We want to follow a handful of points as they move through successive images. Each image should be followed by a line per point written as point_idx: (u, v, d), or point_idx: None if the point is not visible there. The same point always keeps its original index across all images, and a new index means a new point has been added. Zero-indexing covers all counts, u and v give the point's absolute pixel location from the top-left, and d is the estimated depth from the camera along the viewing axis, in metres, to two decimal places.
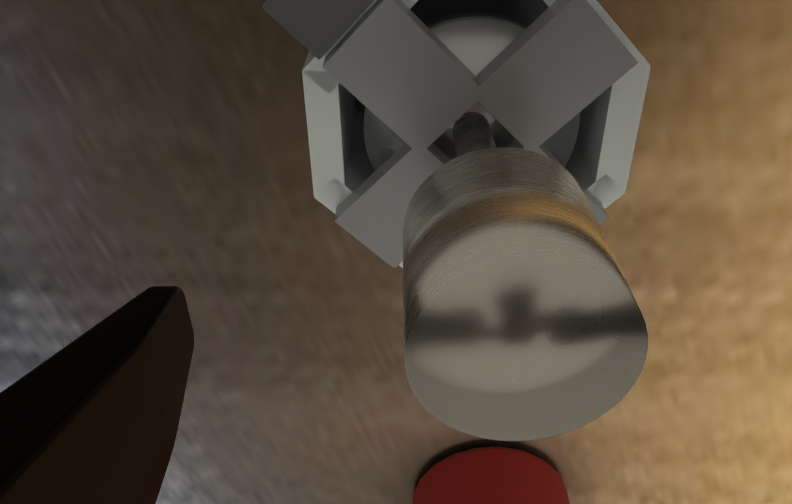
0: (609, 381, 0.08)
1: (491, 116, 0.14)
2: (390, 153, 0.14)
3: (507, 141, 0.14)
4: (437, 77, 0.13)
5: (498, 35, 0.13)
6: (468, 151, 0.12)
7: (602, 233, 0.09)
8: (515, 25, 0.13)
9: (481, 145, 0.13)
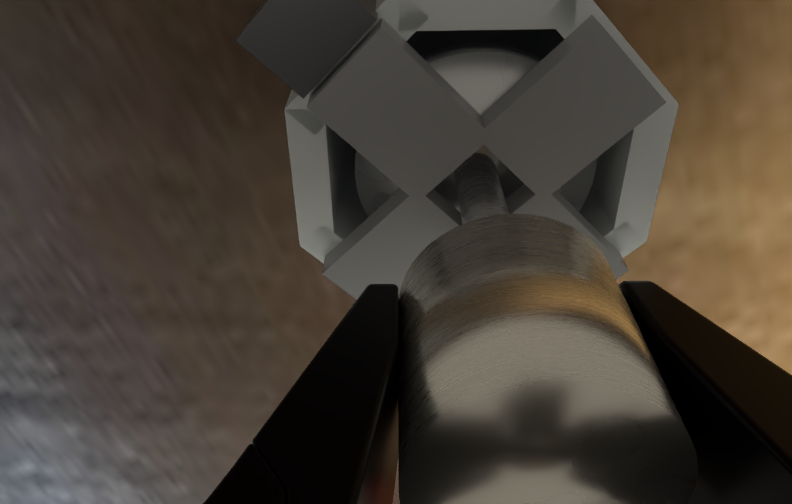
0: None
1: None
2: (385, 197, 0.13)
3: (515, 184, 0.13)
4: (437, 118, 0.11)
5: (506, 69, 0.12)
6: (473, 202, 0.11)
7: (635, 322, 0.08)
8: (525, 58, 0.11)
9: (487, 195, 0.11)
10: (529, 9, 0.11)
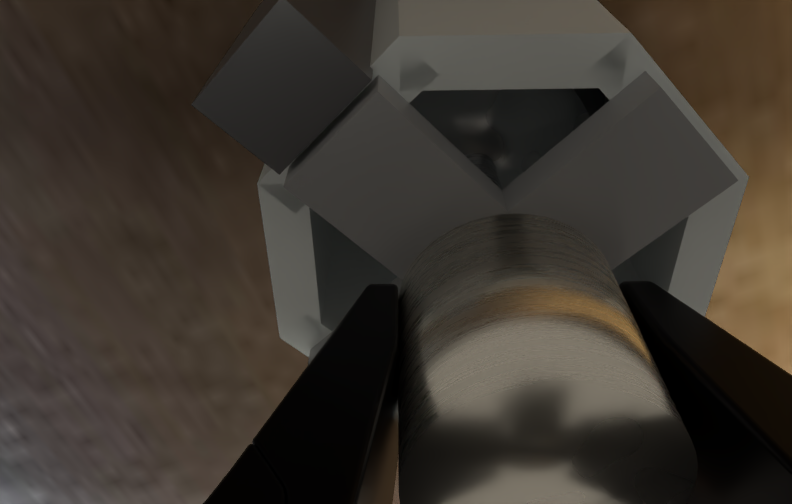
0: None
1: (497, 157, 0.12)
2: None
3: None
4: (448, 199, 0.09)
5: None
6: None
7: (635, 322, 0.08)
8: None
9: None
10: (566, 64, 0.08)
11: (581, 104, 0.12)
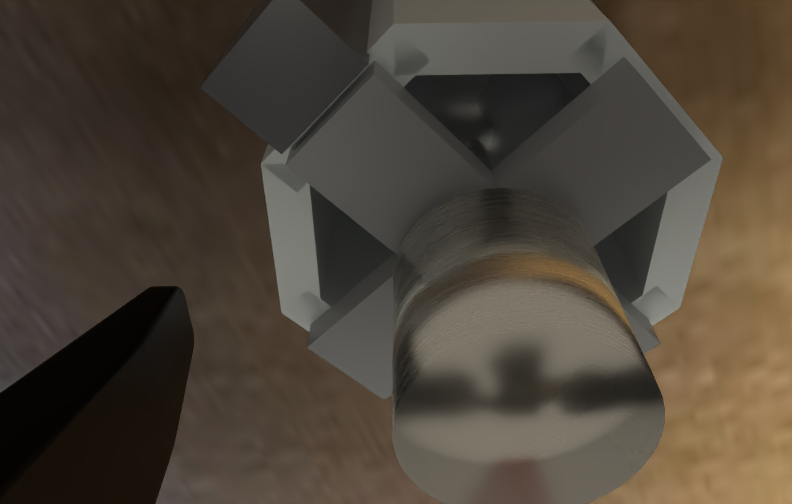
0: (621, 457, 0.08)
1: (489, 142, 0.13)
2: None
3: None
4: (440, 177, 0.09)
5: None
6: None
7: None
8: None
9: None
10: (549, 50, 0.09)
11: (568, 91, 0.13)
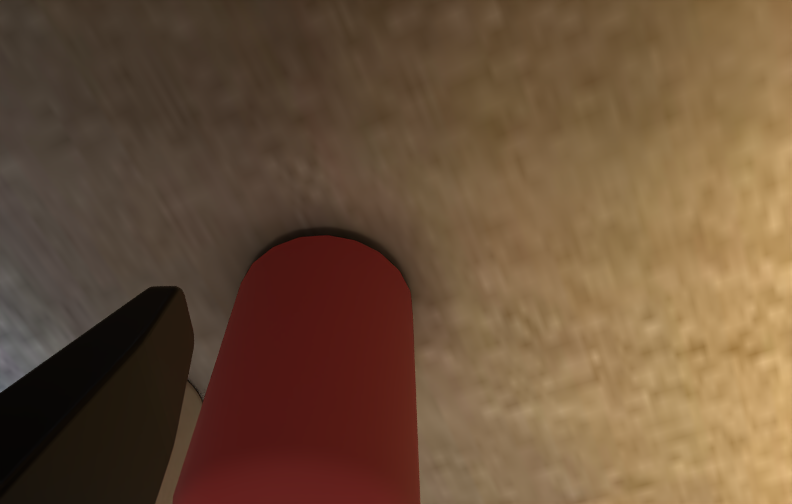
0: None
1: None
2: None
3: None
4: None
5: None
6: None
7: None
8: None
9: None
10: None
11: None
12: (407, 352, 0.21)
